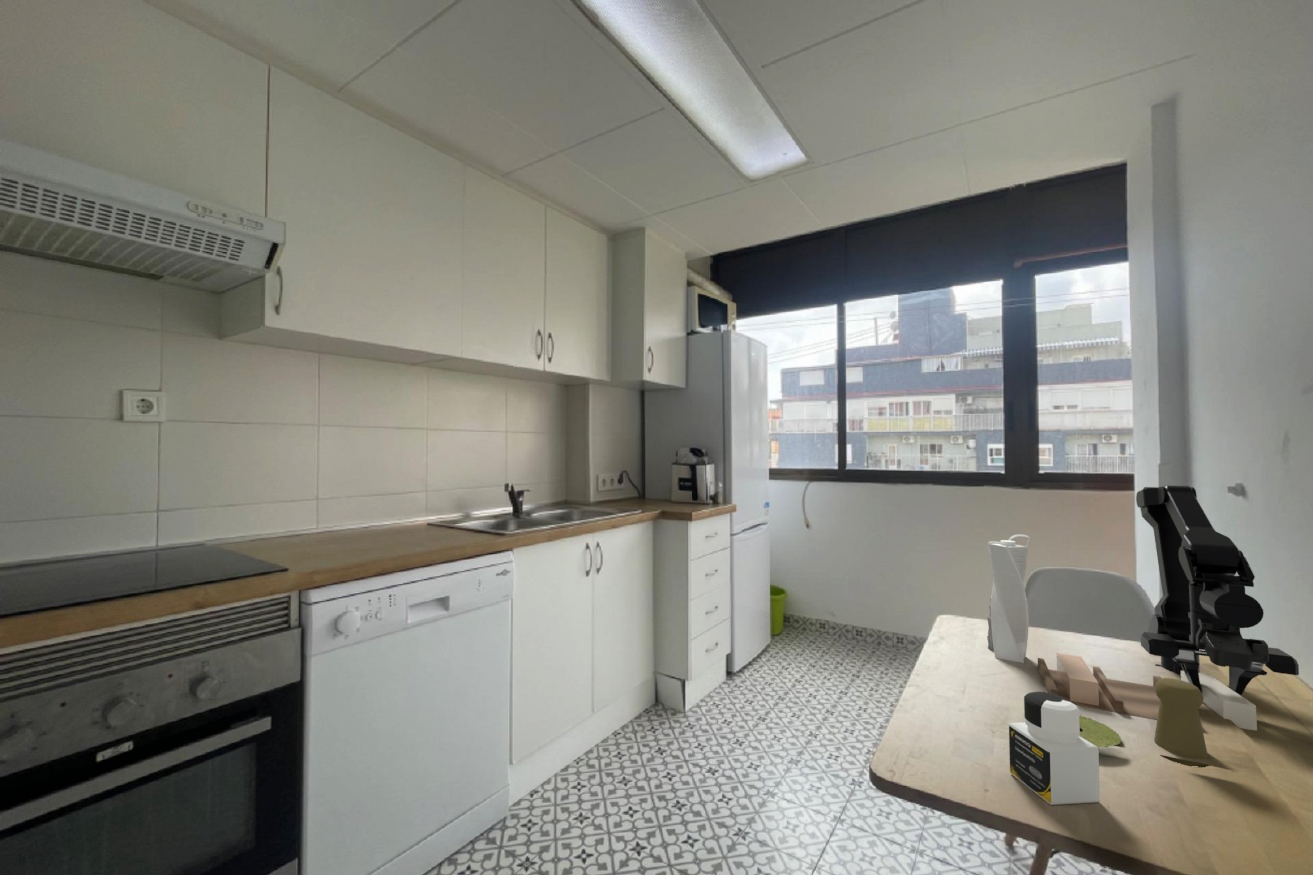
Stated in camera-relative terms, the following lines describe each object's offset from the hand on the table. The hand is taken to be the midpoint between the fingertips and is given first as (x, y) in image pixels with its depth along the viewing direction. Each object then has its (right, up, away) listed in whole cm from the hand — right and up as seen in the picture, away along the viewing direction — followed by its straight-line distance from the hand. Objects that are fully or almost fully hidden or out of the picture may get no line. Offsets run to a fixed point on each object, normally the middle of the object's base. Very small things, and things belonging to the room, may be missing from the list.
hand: (1215, 700), depth 94 cm
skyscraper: (-22, -3, +22) cm, 31 cm away
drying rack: (-16, -2, +3) cm, 17 cm away
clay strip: (0, -2, 0) cm, 2 cm away
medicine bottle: (-46, -1, -22) cm, 51 cm away
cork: (-21, -1, -15) cm, 26 cm away
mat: (-33, -1, -10) cm, 35 cm away
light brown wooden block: (-20, -1, +6) cm, 21 cm away
